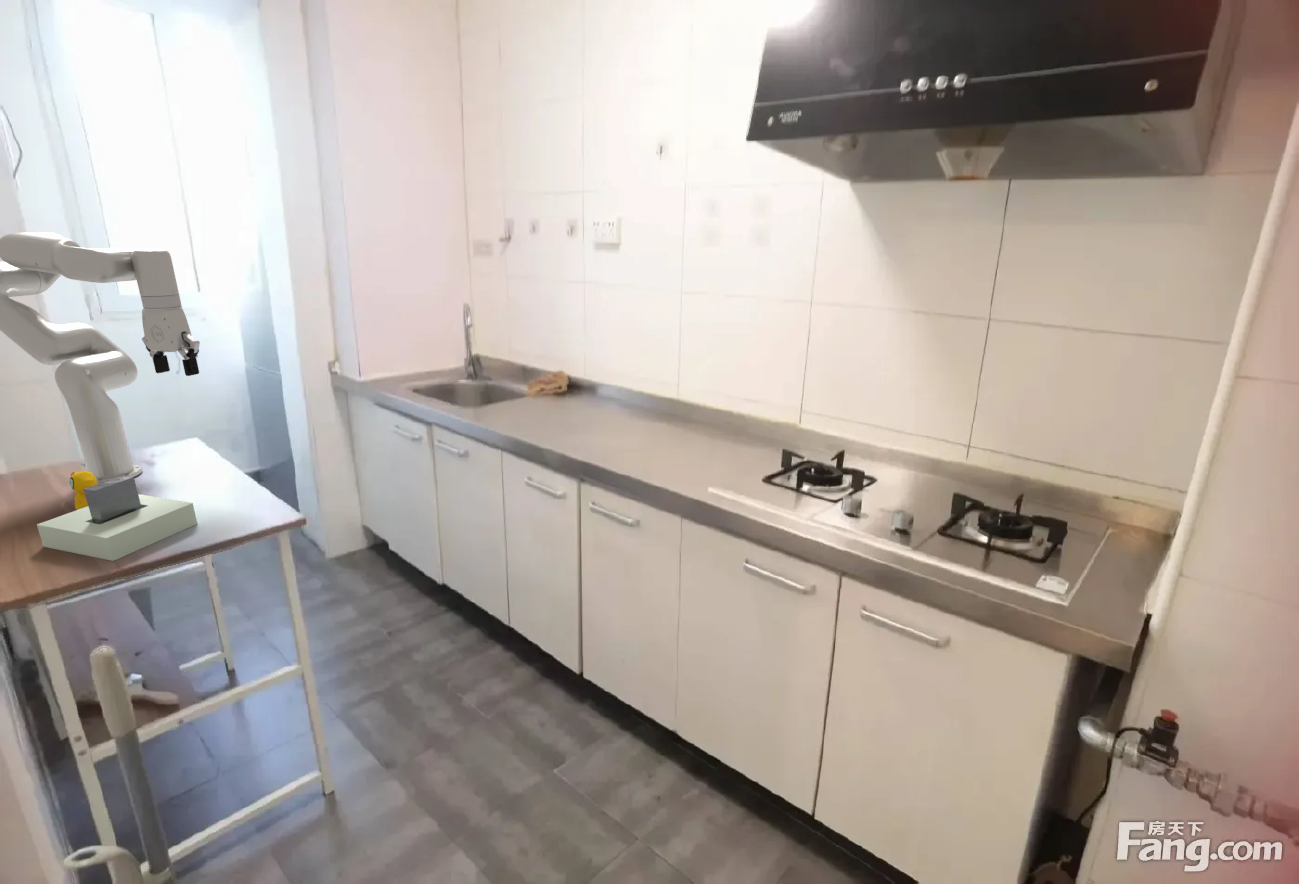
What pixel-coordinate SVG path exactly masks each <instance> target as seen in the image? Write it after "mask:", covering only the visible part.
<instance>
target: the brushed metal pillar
mask: <svg viewBox="0 0 1299 884" xmlns="http://www.w3.org/2000/svg"><path fill="white" fill-rule="evenodd" d="M84 493H85V496H86V500H87V503H88V507H89V510H90V514H91V517H92V521H93V523H95V524H103V523H105V522H108V521H110V520H113V519H116V518H118V517H121V516H123V515H126V514H128V513H131V512H134V511H136V510H139V509H141V508H142V507H141V503H140V499H139V496H138V494H139V493H138V488H137V484H136V481H135V477H130V476H120V477H118V478H115V479H112V480H109V481H106V482H103V483H100V484H97V485H94V486H91V487H88V488H85V489H84Z"/></svg>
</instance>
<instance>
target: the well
mask: <svg viewBox="0 0 1299 884" xmlns="http://www.w3.org/2000/svg"><path fill="white" fill-rule="evenodd" d="M138 496H139V499H140V503H141V507H142V508H141V509H139V510H136V511H134V512H131V513H128V514H126V515H123V516H121V517H118V518H116V519H113V520H110V521H108V522H105V523H103V524H95V523H93V521H92V517H91V514H90V510H89V507H88V506H87V507H84V508H82V509H79V510H76V509H75V510H73V511H72V512H71V511H70V512H67V513H65V514H63V515H59V516H57V517H55V518H51V519H49V520H46V521H42V522H40V523H37V524H36V526H37V530H38V533H39V536H40V540H41V542H42V546H43V548H49V549H53V550H58V551H62V552H68V553H73V554H78V555H82V556H85V557H86V556H87V557H92V558H96V559H97V558H98V559H101V560H107V561H112V562H115V561H116V560H119V559H121V558H123V557H125V556H128V555H130V554H132V553H135V552H137V551H139V550H142V549H143V548H146V547H148V546H150V545H153V544H155V543H158V542H159V541H162V540H164V539H167V538H168V537H171V536H173V535H175V534H178V533H179V532H180V533H181V532H182V531H184V530H187V529H188V528H191V527H193V526H195V525H198V521H197V516H196V511H195V506H194V503H193V502H189V501H182V500H178V499H169V498H163V497H159V496H153V495H152V496H151V495H145V494H139V493H138Z"/></svg>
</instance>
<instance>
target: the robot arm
mask: <svg viewBox="0 0 1299 884" xmlns="http://www.w3.org/2000/svg"><path fill="white" fill-rule="evenodd" d="M0 259H1V260H2V261H0V332H2V333H3V334H4V335H6V337H8V338H9V339H10V340H11V341H13V343H15V344H16V345H17V346H18V347H19V348H21V349H22V350H23V351H24V352H26V353H27V354H28V355H29V356H31V357H32V358H33V359H34V360H35V361H37V362H38V363H39V364H43V365H46V366H56V365H59V366H58V367H57V368H56V369H55V372H54V379H55V383H56V385H57V387H58V388H59V391H60V392H61V394H62V396H63V398H64V400H65V402H66V405H67V407H68V410H69V413H70V415H71V416H70V417H71V420H72V422H73V425H74V429H75V434H76V436H77V440H78V443H79V446H80V451H81V454H82V457H83V461H82V462H81V463H80V467H82V468H85V469H86V470H85V471H89V472H91V473H92V474H94V476H95V477H96V479H97V482H98V484H100V483H103V482H106V481H109V480H112V479H115V478H118V477H120V476H130V477H134V478H135V477H137V476H138V475H140V474H141V473H142V472H143V467H142V466H141V465H139V464H134V462H133V458H132V455H131V450H130V447H129V443H128V439H127V435H126V431H125V427H124V423H123V420H122V417H121V412H120V409H119V407H118V405H117V403H115V401H114V400H113V399H112V398H111V397H110V396H109V395H108V394H107V393H108V392H109V391H112V390H117V389H121V388H123V387H127V386H129V385H131V384H132V383H134V382H135V381H136V379H137V377H138V368H137V365H136V363H135V362H134V361H133V359H132V358H131V357H130V356H129V355H128V354H127V353H126V352H125V351H124V350H123V349H121V348H120V347H119V346H117V344H116V343H114V342H112V340H111V339H110V338H109V337H107V336H106V335H105V334H103V333H102V331H100V330H99V329H98V328H96V327H94V326H92V325H90V324H87V323H84V322H68V323H59V324H58V323H53V322H51V321H49V320H48V319H46V318H45V317H44V316H42V315H41V313H39V312H38V311H37V310H35V309H34V308H33V307H31V306H29V305H26V304H24V303H22V302H19V301H16V300H15V299H13V298H14V297H23V296H24V297H25V296H33V295H39V294H41V293H44V292H45V291H47V290H48V289H50V288H51V287H52V285H54V283H56V281H57V280H58V279H59V278H60V277H61V276H63V277H64V278H67V279H70V280H73V281H74V280H75V281H80V282H89V283H97V284H99V283H100V284H106V283H107V284H109V283H115V282H116V283H117V282H131V281H136V283H137V286H138V290H139V291H138V292H139V296H140V300H141V303H142V311H141V319H142V321H141V322H142V329H143V334H144V335H143V337H142V338H141V341H142V342H143V344H144V346H145V349H146V350H147V352H149V357H150V358H152V363H153V367H154V370H155V371H154V372H155V374H162V373H166V372H170V371H171V369H170V365H169V360H168V356H167V355H166V354H165V353H176V352H178V353H179V354H180V355H181V357H182V358H183V359H182V360H181V361H182V366H183V369H184V375H185V376H186V377H190V376H195V375H199V374H200V370H199V366H198V364H199V363H198V360H197V358H198V354H199V352H200V344H201V343H200V341H199V340H198V339H196V337H194V336H192V333H191V332H192V331H191V328H190V325H189V322H188V319H187V317H186V314H185V311H184V308H183V306H182V301H181V296H180V291H179V287H178V282H177V279H176V274H175V269H174V263H173V260H172V256H171V254H170V252H169V251H168V250H166V249H164V248H163V249H162V248H136V247H107V248H103V247H102V248H88V247H87V248H86V247H81V245H79V243H77V242H76V241H74V240H72V239H70V238H66V237H64V236H62V235H60V234H57V233H55V232H49V231H48V232H47V231H46V232H45V231H44V232H43V231H42V232H41V231H34V232H33V231H32V232H30V231H29V232H25V231H24V232H21V231H20V232H11V233H7V234H5V235H2V236H0Z"/></svg>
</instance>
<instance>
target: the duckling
mask: <svg viewBox="0 0 1299 884" xmlns="http://www.w3.org/2000/svg"><path fill="white" fill-rule="evenodd" d="M97 484H98V482H97V479H96V477H95V476H94V474H92V473H91V472H89V471H86V470H80V471H77V472H75V471H74V472H71V473H70V477H69V485H70V487H71V489H72V490H73V492H74V493H75V495H74V508H75V511H76V510H79V509H82V508H84V507H87V506H88V503H87V500H86V496H85V493H84V489H85V488H88V487H91V486H94V485H97Z"/></svg>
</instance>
